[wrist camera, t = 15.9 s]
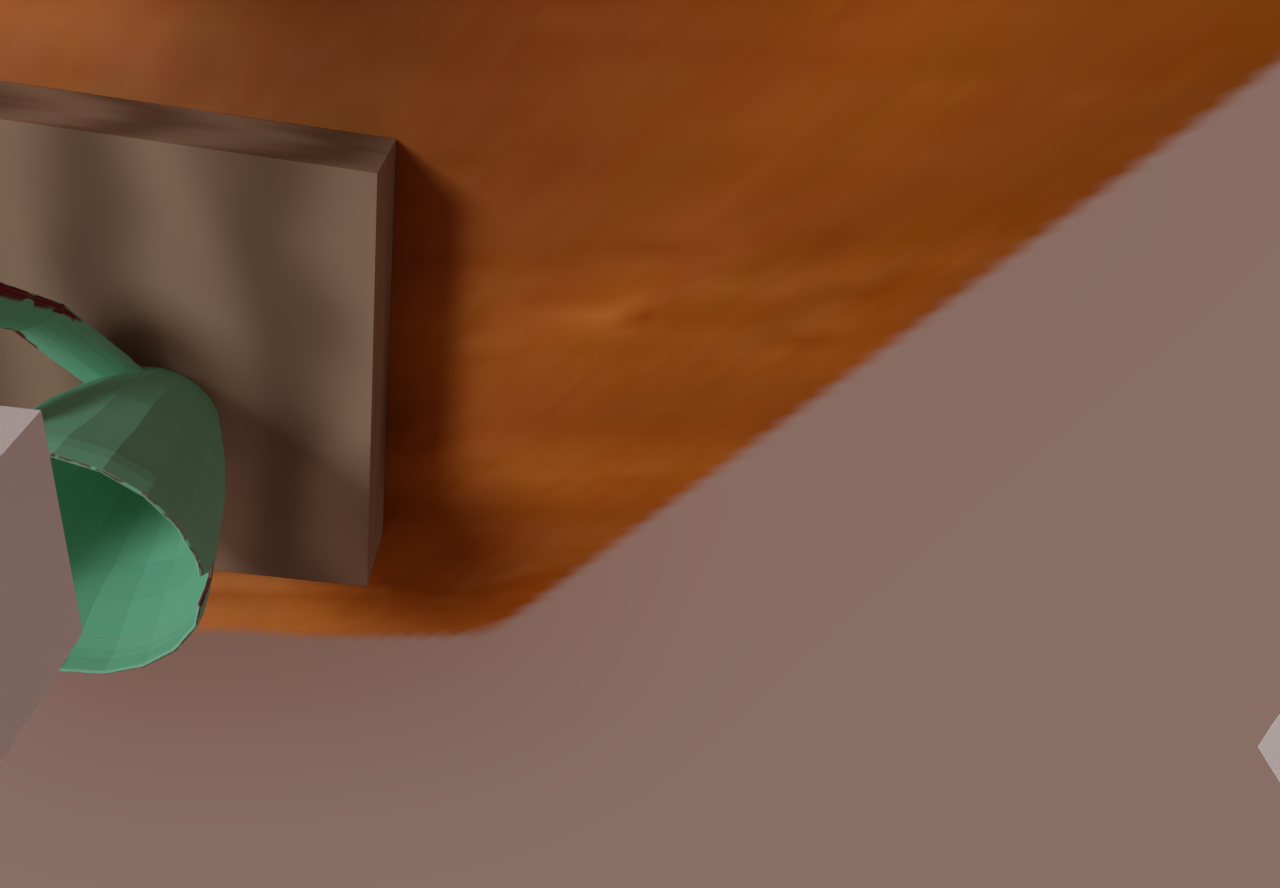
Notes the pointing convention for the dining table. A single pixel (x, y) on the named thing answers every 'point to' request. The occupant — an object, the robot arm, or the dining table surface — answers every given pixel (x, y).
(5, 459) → the robot arm
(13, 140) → the plinth
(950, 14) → the dining table surface
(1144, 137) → the dining table surface
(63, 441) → the mug
